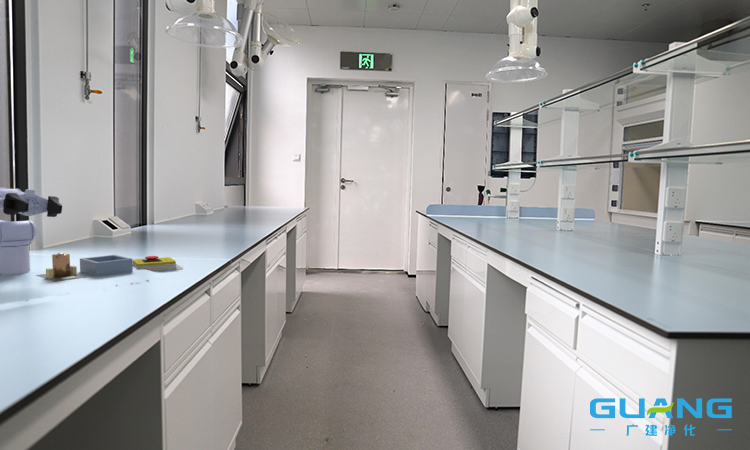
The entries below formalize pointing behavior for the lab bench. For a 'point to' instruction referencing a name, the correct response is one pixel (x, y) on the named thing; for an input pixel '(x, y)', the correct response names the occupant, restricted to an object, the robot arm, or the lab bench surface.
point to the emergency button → (156, 264)
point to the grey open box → (106, 265)
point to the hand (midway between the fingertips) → (44, 208)
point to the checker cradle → (72, 276)
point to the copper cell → (61, 265)
